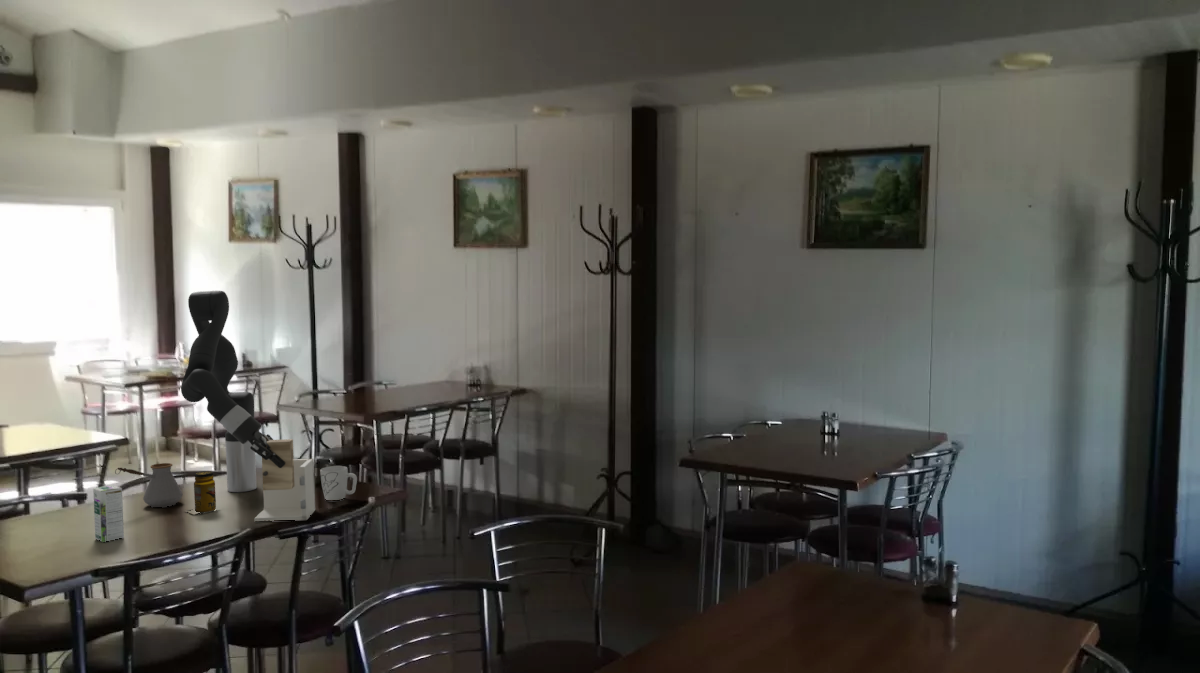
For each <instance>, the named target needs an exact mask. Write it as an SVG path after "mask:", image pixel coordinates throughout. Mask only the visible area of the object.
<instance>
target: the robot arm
mask: <svg viewBox="0 0 1200 673" xmlns="http://www.w3.org/2000/svg"><path fill="white" fill-rule="evenodd" d="M187 300H188V301H187V302H188V303H187V304H188V310H189V313H190V316H191V320H192V321H193V325H194V327H195V329H196V331H197V334H198V336H197V337H196V338H195V339H194V341H193V342H192V343H191V344H192V345H191V347H190V352H189V357H188V365H187V368H186V371H184V372H185V373H184V375H183V379H182V382H181V384H180V385H181V386H180V392H181V395H182V397H183V398H184V399H185V400H186V401H187V402H190V403H197V402H198V403H199V402H201V401H202V400H203V399H206V401H207V406H206V411H207V412H208V413H209V414H210V416H212V417H213V418H214V419H215V420H216V421H217V422H218V423H220V424H221V426H222V427H223V428H224V429H225V430H226V432H225V434H224V438H225V439H224V440H225V443H224V444H225V461H226V481H227V482H226V483H227V484H226V485H227V491H228V492H229V493H231V492H232V493H244V492H249V491H254V490H256V489H257V471H256V470H257V468H256V467H257V465H256V454H257V455H258V456H259V457H261V459H262V458H264V459H265V460H267V459H268V460H271V461H272V462H273V463H274V464H275V465H277V466H278V467H279V468H282V467H283V466H284V465H285V461H283V460H282V459H281V458H280V457H279V456H278V455H277V454H276V453H275V452H274V451H273V450H272V449H271V446H270V445H269V444H268V443H267V441H268V440H274V438H272V436H271V435H270V434H267V433H266V434H264V433H262V432H261V431H260V430H261V429H262V427H263V425H262V424H261V423H260V422H259V421H258V420H257V419H256V418H255V398H254V395H253V393H251V392H249V391H237V392H236V391H235V392H233V391H232V392H230V391H229V388H228V386H229V384H230V382H231V380H232V378H233V377H234V375H235V373H236V372H237V369H238V368H239V367H238V366H239V361H238V357H237V352H236V349H235V346H234V345H233V343H232V342H231V341H230V340H229V339H228V338H227V337H226V336H224V335H223V331H224V327H225V325H226V323H227V319H228V316H229V311H230V302H229V297H228V294H227V293H226V292H225V291H224V290H203V291H196V292H195V291H194V292H192V293H190V295H189V296H188V299H187ZM266 440H267V441H266ZM263 442H264V443H263ZM266 446H267V448H266ZM266 453H267V454H266Z"/></svg>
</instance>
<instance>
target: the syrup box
mask: <svg viewBox="0 0 1200 673" xmlns="http://www.w3.org/2000/svg"><path fill="white" fill-rule="evenodd" d="M92 490H93V515H94V516H93V518H94V519H93V520H94V537H95V538H94V539H95V540H96V539H97V540H96V541H99V540H100V541H99V542H102V543H103V542H105V543H107V542H106V541H109V542H111V541H110V540H114V541H116V540H115V539H118V540H120V539H119V538H122V539H124V538H125V535H124V534H125V533H124V528H125V527H124V508H123V488H122V487H119V486H115V485H104V486H99V487H95V488H93V489H92Z"/></svg>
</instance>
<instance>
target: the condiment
mask: <svg viewBox="0 0 1200 673" xmlns="http://www.w3.org/2000/svg"><path fill="white" fill-rule="evenodd" d="M193 492H194V496H193V497H194V508H193V509H195V511H196V512H200V514H199V515H201V513H203V514H205V513H204V512H210V513H212V512H211V511H214V510H215V509H216V508H217V500H216V495H217V494H216V482H215V479H214V472H213V471H209V470H207V471H206V470H204V471H199V472H195V473H194V482H193ZM193 509H187V510H186V509H185V510H184V512H185V513H187V512H188V511H191V510H193Z"/></svg>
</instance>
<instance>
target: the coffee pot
mask: <svg viewBox="0 0 1200 673" xmlns="http://www.w3.org/2000/svg"><path fill="white" fill-rule="evenodd" d="M172 467H173V463H169V462H165V463H164V462H162V463H155V464H151V465H150V468H151V470H152V473H147V472H146V473H145V472H142V471H138V470H135V469H130V468H128V469H127V468H125V467H124V468H123V467H117V468H116V469H115V470H114V473H115V474H116V475H120V474H121V471H122V472H123V473H125V472H126V473H129V475H130V474H132V475H138V476H144V477H147V478H150V480H149V482H148V484H147V486H146V488H145V491H144V495H143V497H142V498H143V501H144V503H145V504H147V505H148V506H149V507H150V506H151V507H150V508H153V507H162V508H168V507H167V506H169V507H173V506H176V505H177V504H178V502H179V501H180V500H181V499H182V497H183V491H182V489H181V488H180V486H179V483H178V482H177V480H176V479H175V476H174V475H173V472H172V471H171V470H172ZM117 470H118V473H117ZM176 503H177V504H176ZM172 505H173V506H172Z"/></svg>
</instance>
